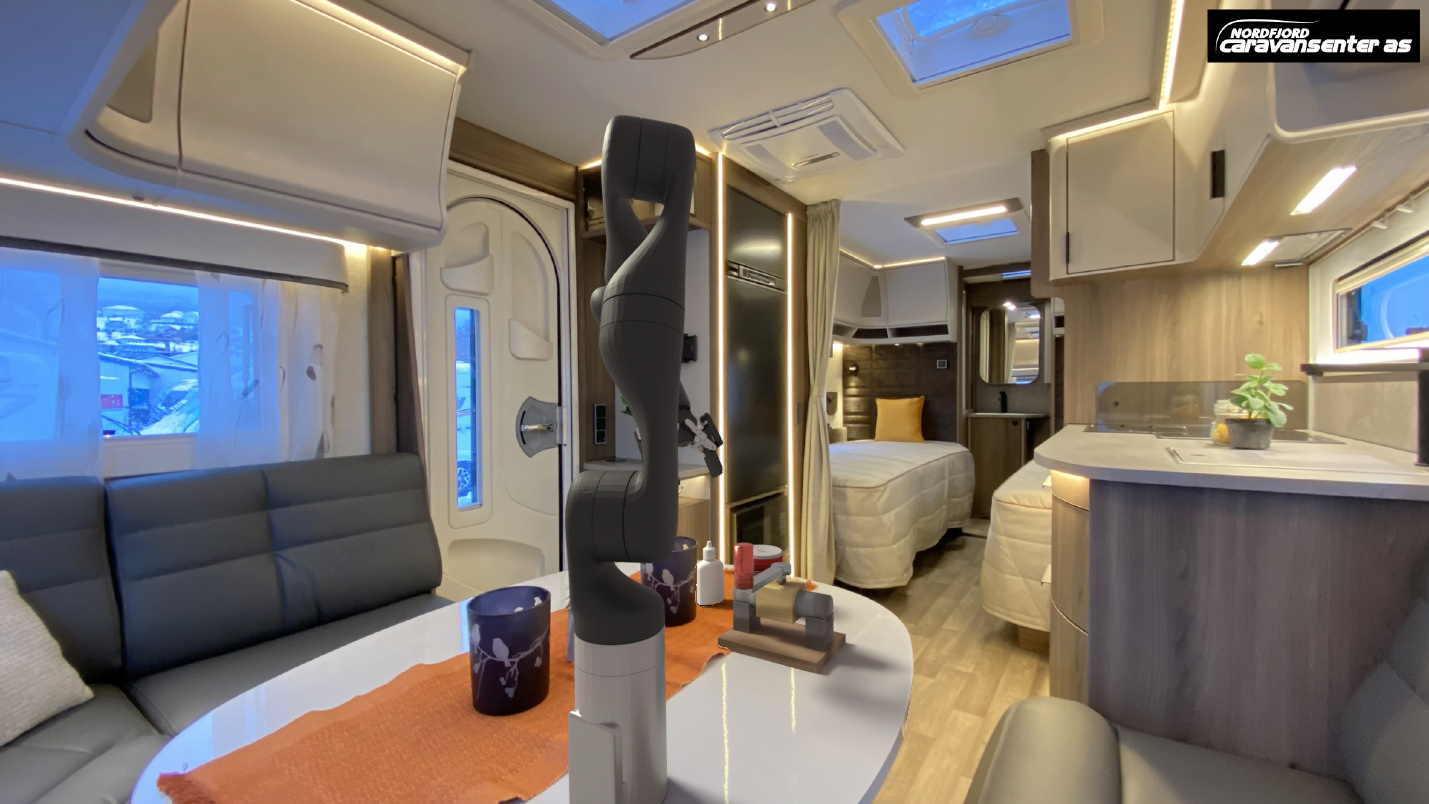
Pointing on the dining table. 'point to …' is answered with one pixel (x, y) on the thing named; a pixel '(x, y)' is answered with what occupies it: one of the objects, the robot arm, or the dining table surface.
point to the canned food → (765, 557)
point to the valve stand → (784, 626)
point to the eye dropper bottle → (710, 577)
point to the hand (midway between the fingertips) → (697, 481)
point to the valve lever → (745, 570)
